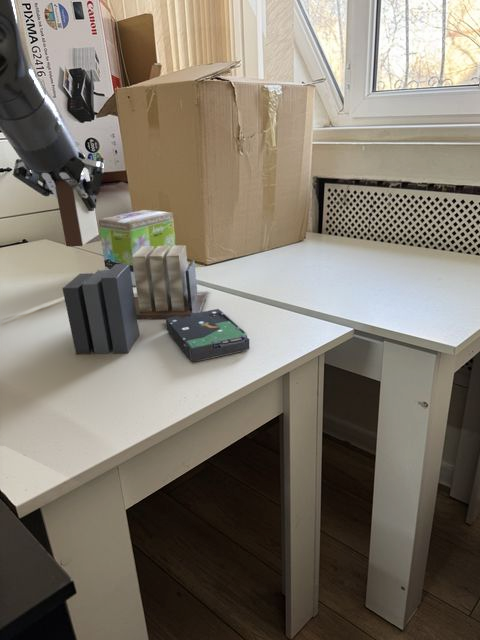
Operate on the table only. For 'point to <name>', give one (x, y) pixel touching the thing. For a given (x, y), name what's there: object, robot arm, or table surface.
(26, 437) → the table surface
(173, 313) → the stone tile rack
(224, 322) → the disk drive
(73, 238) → the white book
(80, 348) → the grey books
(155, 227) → the tea box
